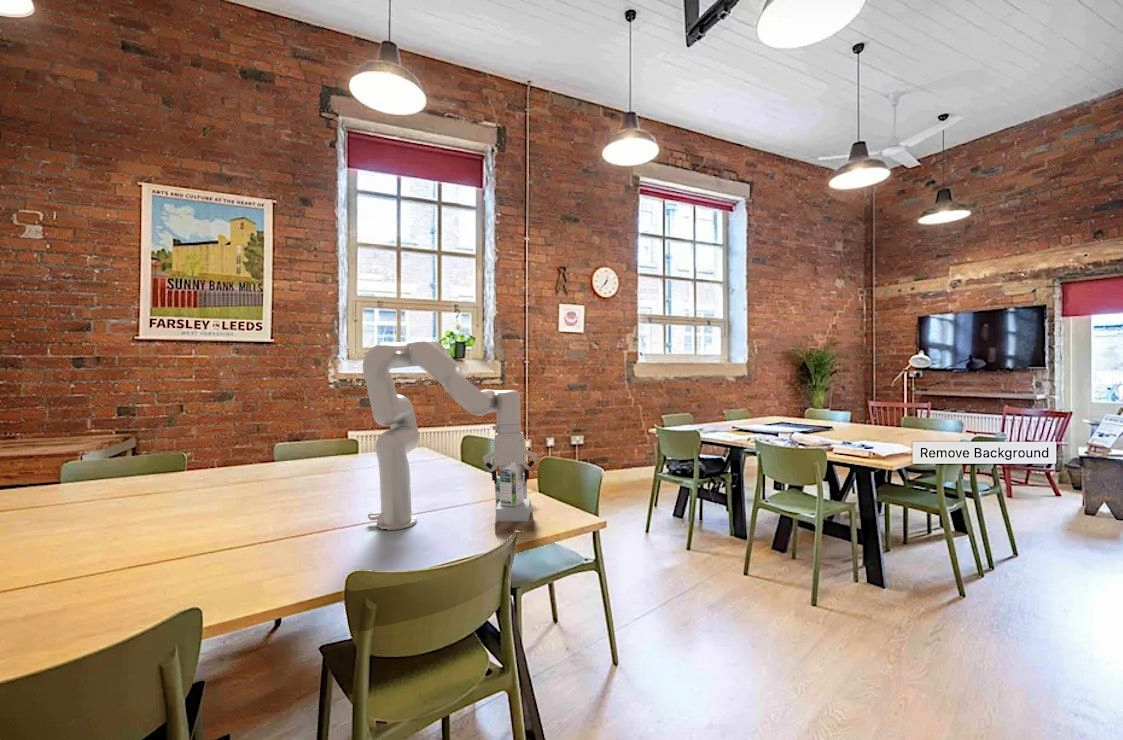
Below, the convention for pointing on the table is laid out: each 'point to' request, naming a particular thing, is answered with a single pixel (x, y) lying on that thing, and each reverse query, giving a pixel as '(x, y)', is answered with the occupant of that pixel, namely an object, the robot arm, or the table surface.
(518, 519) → the grey slab
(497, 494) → the light bulb box
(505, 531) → the walnut slab
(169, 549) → the table surface
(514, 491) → the syrup box
